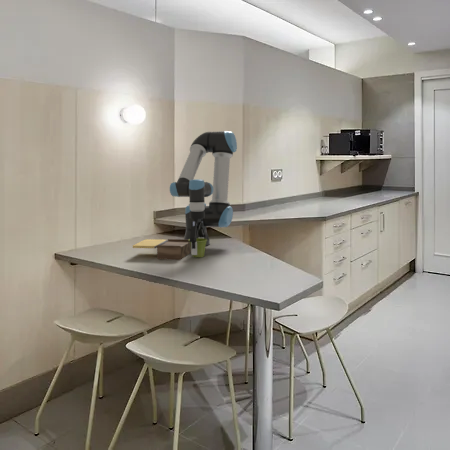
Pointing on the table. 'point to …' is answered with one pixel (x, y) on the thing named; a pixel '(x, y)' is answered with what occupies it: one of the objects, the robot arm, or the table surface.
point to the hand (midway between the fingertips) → (197, 252)
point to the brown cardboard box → (174, 249)
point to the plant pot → (200, 247)
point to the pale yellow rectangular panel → (149, 243)
